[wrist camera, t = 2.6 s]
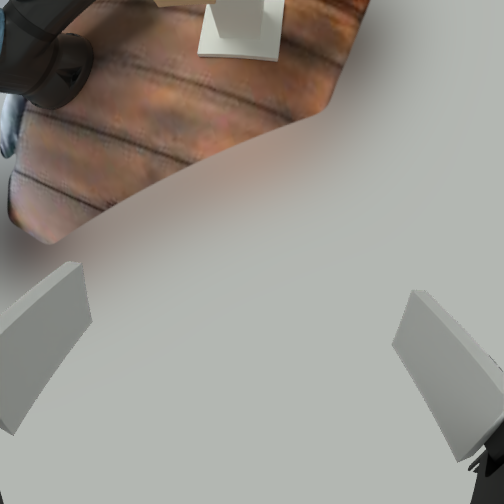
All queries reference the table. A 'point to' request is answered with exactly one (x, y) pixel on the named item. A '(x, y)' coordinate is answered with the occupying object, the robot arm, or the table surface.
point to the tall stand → (242, 29)
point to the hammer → (182, 2)
